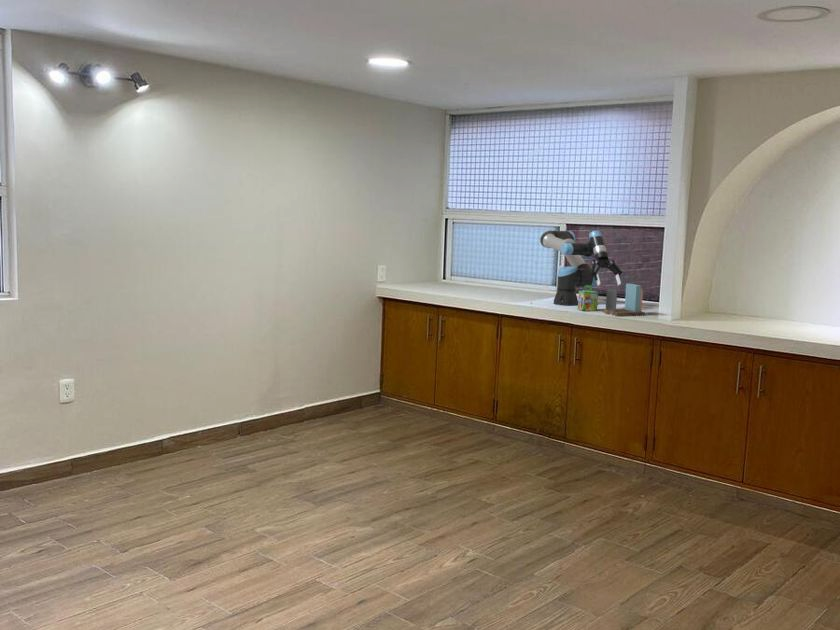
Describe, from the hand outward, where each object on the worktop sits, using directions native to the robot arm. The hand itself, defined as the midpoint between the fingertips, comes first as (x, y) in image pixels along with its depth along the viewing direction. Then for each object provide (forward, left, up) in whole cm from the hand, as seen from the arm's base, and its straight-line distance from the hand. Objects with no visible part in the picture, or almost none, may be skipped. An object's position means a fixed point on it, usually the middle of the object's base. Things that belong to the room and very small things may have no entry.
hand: (609, 284), depth 479 cm
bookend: (+16, -8, -13) cm, 22 cm away
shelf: (+16, +1, -15) cm, 22 cm away
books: (+16, +7, -13) cm, 22 cm away
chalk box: (-1, -13, -16) cm, 20 cm away
